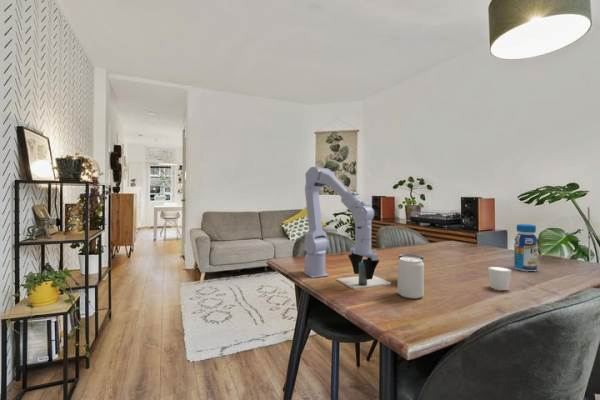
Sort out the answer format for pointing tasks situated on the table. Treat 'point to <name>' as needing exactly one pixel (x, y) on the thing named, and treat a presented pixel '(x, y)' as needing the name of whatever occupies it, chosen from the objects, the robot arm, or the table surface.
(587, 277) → the table surface
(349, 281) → the paper pad
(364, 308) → the table surface
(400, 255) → the coffee mug
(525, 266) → the blue supplement bottle
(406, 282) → the beverage can
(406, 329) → the table surface
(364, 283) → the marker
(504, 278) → the white cylinder
